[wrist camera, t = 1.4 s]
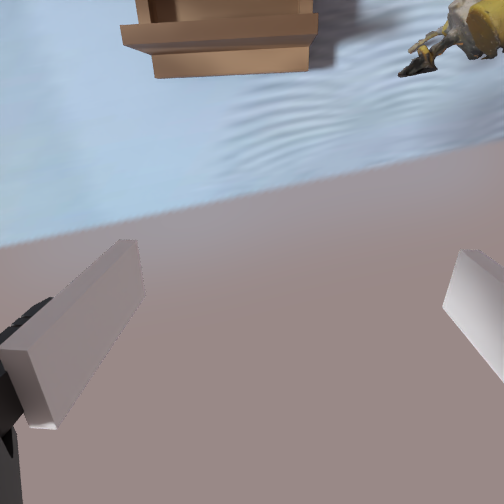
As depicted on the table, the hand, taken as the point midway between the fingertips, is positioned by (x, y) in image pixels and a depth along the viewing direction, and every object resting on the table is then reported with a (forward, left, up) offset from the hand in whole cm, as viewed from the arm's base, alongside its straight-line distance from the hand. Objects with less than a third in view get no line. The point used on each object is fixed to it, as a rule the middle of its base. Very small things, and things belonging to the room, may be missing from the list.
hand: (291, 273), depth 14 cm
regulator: (-10, +11, -24) cm, 29 cm away
